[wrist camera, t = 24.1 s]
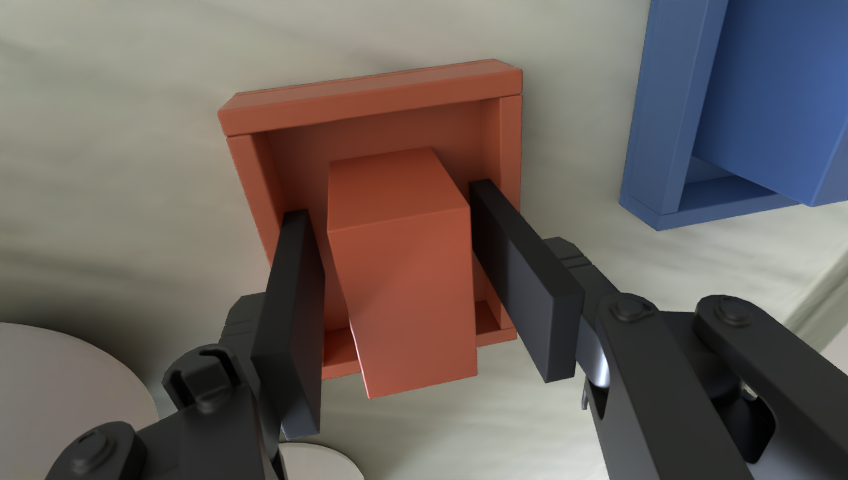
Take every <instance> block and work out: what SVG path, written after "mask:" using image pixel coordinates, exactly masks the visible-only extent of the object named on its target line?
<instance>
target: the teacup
mask: <svg viewBox="0 0 848 480" xmlns="http://www.w3.org/2000/svg"><path fill="white" fill-rule="evenodd" d="M114 421H123V422H126V423H129V424H131V425H132V427H133V428H134V429H135V431H138V430H141V429H143V428H145V427H147V426H149V425H152V424H154V423H156V422H158V421H159V417H158V412H157V409H156V406H155V404H154V401H153V399H152V397H151V395H150V393H149V392H148V390H147V389H146V387H145V385H144V384H143V383H142V382H141V381H140V380H139V378H138V377H137V376H136V375H135V374H134V373H133V372H132V371H131V370H130V369H129V368H128V367H127V366H125V365H124V364H123V363H121V362H120V361H118V360H117V359H115V358H114V357H112V356H111V355H109V354H108V353H106V352H104V351H102V350H101V349H99V348H97V347H95V346H94V345H91V344H89V343H87V342H85V341H83V340H81V339H79V338H76V337H73V336H70V335H67V334H65V333H61V332H57V331H53V330H49V329H44V328H38V327H33V326H27V325H21V324H12V323H3V322H0V480H44V479H45V478H46V476H47V474H48V472H49V470H50V469H51V467H52V465H53V463H54V462H55V461H56V459H57V458H58V457H59V455H60V454H61V453H62V451H63V450H64V449H65V448H66V447H67V446H68V445H69V444H71V443H72V442H73V441H74V440H75V439H76V438H77V437H79V436H81V435H82V434H84V433H85V432H87V431H89V430H90V429H92V428H94V427H96V426H99V425H102V424H105V423H107V422H114Z"/></svg>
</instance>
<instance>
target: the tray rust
mask: <svg viewBox="0 0 848 480" xmlns="http://www.w3.org/2000/svg"><path fill="white" fill-rule="evenodd" d="M522 81H523V71H522V69H519V68H516V67H514V66H511V65H508V64H506V63H503V62H500V61H498V60H496V59H489V60H481V61H474V62H466V63H459V64H451V65H444V66H436V67H429V68H421V69H414V70H407V71H399V72H392V73H384V74H377V75H369V76H362V77H354V78H347V79H339V80H332V81H325V82H317V83H310V84H302V85H295V86H287V87H280V88H272V89H265V90H258V91H250V92H243V93H236V94H235V95H234V96H233V97H232V98H231V99H230V100H229V101H228V102H227V103H226V104H225V105H224V106H223V107H222V108H221V109H220V110H219V111H218V112H217V115H218V118H219V121H220V123H221V126H222V129H223V132H224V134H225V136H228V137H227V138H226V141H227V144H228V146H229V149H230V152H231V155H232V158H233V161H234V164H235V167H236V169H237V172H238V175H239V178H240V181H241V184H242V187H243V190H244V192H245V195H246V198H247V201H248V204H249V207H250V210H251V213H252V215H253V218H254V221H255V224H256V227H257V230H258V233H259V236H260V238H261V241H262V244H263V247H264V250H265V253H266V256H267V259H268V261H269V264H270V267H272V263H273V259H274V255H275V251H276V246H277V242H278V238H279V234H280V229H281V226H282V221H283V217H284V213H285V212H289V211H295V210H301V209H307V208H308V212H309V215H310V219H311V223H312V226H313V230H314V234H315V238H316V241H317V245H318V249H319V252H320V256H321V260H322V264H323V267H324V271H325V300H324V327H323V354H322V380H326V379H331V378H336V377H341V376H345V375H350V374H355V373H359V372H362V371H361V367H360V363H359V359H358V355H357V351H356V347H355V343H354V339H353V335H352V331H351V327H350V323H349V319H348V315H347V311H346V307H345V303H344V299H343V295H342V291H341V286H340V282H339V278H338V274H337V270H336V266H335V262H334V258H333V254H332V250H331V246H330V242H329V238H328V234H327V218H328V185H329V162H331V161H338V160H344V159H351V158H357V157H363V156H370V155H376V154H383V153H389V152H396V151H402V150H409V149H415V148H422V147H428V146H430V147H431V148H432V150H433V151H434V153H435V154H436V156H437V157H438V159H439V160H440V162H441V164H442V165H443V167H444V168H445V170H446V171H447V173H448V174H449V176H450V177H451V179H452V180H453V182H454V183H455V185H456V186H457V188H458V189H459V191H460V192H461V194H462V195H463V197H464V198H465V200H466V202H467V203H468V205H469V206H470V200H469V182H471V181H477V180H483V179H489V178H490V179H491V181H492V182H493V183H494V184H495V185H496V186H497V188H498V189H499V190H500V191H501V192H502V193H503V195H504V196H505V197H506V198H507V199H508V200H509V202H510V203H511V204H512V205H513V206H514V207H515V209H516V210H517V211H518V212H519V213H520V183H521V140H522V98H523V96H522V95H521V93H522ZM472 255H473V278H474V301H475V323H476V346H477V347H482V346H487V345H491V344H496V343H501V342H505V341H510V340H515V339H517V330H516V328H515V327H514V325H513V323H512V321H511V319H510V317H509V316H508V314H507V312H506V310H505V308H504V306H503V305H502V303H501V301H500V299H499V297H498V295H497V294H496V292H495V290H494V288H493V286H492V284H491V283H490V281H489V279H488V277H487V275H486V273H485V272H484V270H483V268H482V266H481V264H480V262H479V261H478V259H477V257H476V255H475V253H474V251H473V250H472Z"/></svg>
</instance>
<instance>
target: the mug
mask: <svg viewBox="0 0 848 480" xmlns="http://www.w3.org/2000/svg"><path fill="white" fill-rule="evenodd" d="M278 447H279V449H280V451H281V453H282V456H283V458H284V462H285V467H286V472H287V476H288V480H364V477H363V475H362V474H361V472H360V471H359V469H358V468H357V466H356V465H355V464H354V463H353V462H352V461H351V460H350V459H349V458H348V457H346V456H345V455H343V454H341V453H339V452H337V451H335V450H333V449H330V448H326V447H323V446H320V445H314V444H308V443H278Z"/></svg>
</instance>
